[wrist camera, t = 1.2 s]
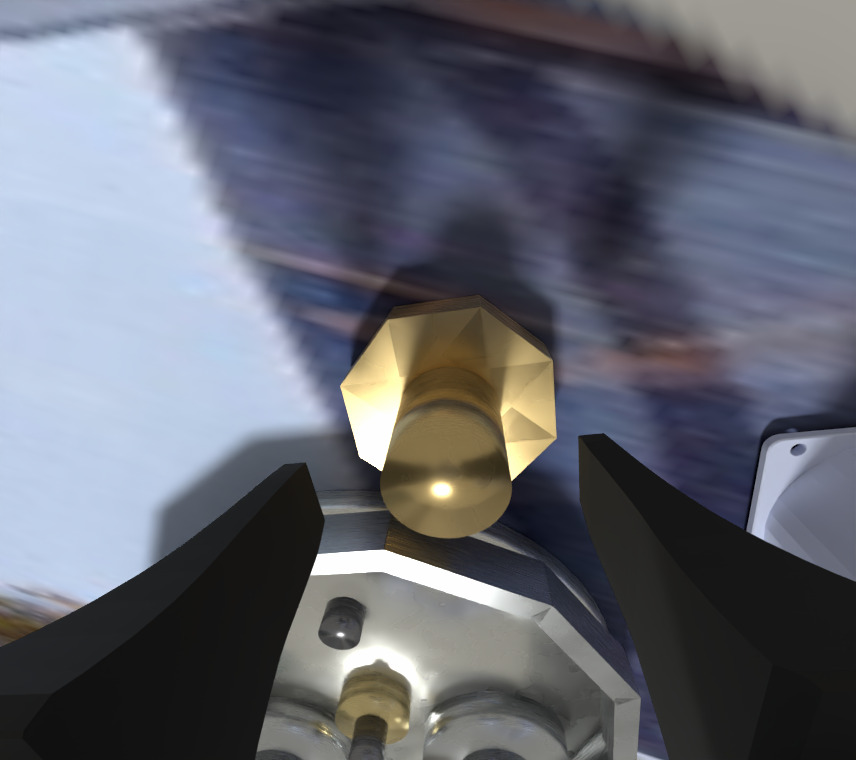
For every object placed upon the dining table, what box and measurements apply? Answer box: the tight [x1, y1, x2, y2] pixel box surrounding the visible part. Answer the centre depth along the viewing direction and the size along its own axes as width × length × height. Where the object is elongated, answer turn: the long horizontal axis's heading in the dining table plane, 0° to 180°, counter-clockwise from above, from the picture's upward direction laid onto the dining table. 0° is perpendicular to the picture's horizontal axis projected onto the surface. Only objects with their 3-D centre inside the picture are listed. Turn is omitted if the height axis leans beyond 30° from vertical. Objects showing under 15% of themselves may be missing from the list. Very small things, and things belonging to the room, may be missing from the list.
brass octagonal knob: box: [340, 295, 556, 538], centre depth 14 cm, size 7×7×6 cm
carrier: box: [255, 490, 641, 760], centre depth 21 cm, size 24×24×6 cm
